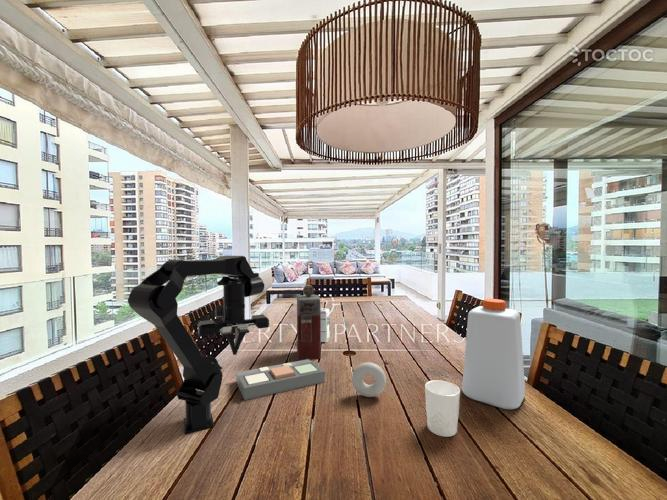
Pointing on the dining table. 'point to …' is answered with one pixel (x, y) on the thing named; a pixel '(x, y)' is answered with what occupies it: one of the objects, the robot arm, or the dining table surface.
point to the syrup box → (325, 325)
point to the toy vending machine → (308, 325)
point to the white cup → (442, 407)
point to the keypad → (278, 380)
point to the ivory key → (256, 379)
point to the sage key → (305, 369)
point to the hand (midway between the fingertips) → (234, 354)
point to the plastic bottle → (494, 356)
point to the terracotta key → (281, 372)
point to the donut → (365, 388)
